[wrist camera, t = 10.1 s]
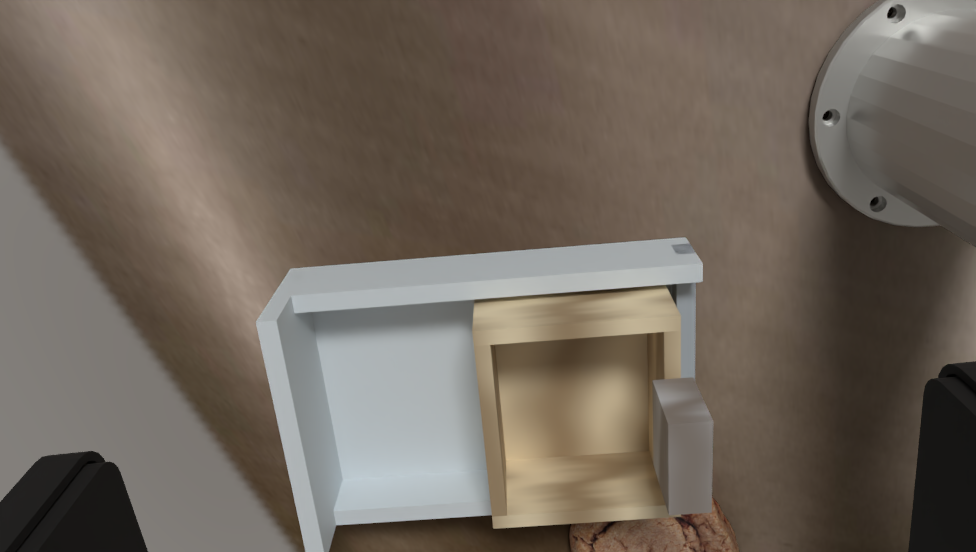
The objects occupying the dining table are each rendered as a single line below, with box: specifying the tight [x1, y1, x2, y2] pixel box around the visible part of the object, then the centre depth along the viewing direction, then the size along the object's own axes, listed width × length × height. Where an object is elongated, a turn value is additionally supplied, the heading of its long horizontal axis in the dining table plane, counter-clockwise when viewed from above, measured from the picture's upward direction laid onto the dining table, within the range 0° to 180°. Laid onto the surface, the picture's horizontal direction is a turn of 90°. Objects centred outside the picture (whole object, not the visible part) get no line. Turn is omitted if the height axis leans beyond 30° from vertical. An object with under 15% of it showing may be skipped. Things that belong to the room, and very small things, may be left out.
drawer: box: [472, 285, 713, 529], centre depth 42 cm, size 11×12×10 cm
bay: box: [256, 237, 703, 552], centre depth 44 cm, size 22×15×7 cm, turn 95°
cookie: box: [569, 497, 739, 552], centre depth 51 cm, size 10×11×3 cm
